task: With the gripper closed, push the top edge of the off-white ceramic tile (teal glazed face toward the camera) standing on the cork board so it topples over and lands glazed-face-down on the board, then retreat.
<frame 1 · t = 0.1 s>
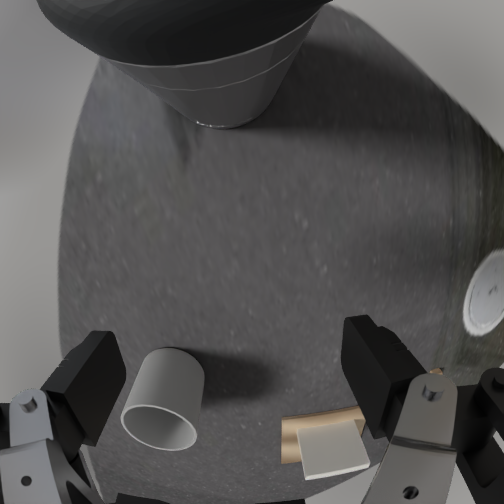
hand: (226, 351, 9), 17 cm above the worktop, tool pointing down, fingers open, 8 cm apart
tile: (325, 427, 34), resting on board
board: (322, 436, 35), on the worktop
cup: (168, 376, 31), on the worktop
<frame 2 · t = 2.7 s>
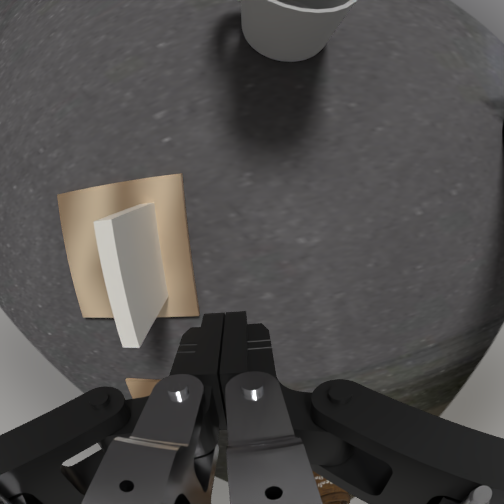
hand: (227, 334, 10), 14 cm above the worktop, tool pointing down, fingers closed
tan tapered flat part: (187, 394, 28), on the worktop
tile: (154, 251, 23), resting on board
board: (124, 252, 24), on the worktop
utensil holder: (322, 469, 33), on the worktop
cup: (270, 21, 19), on the worktop
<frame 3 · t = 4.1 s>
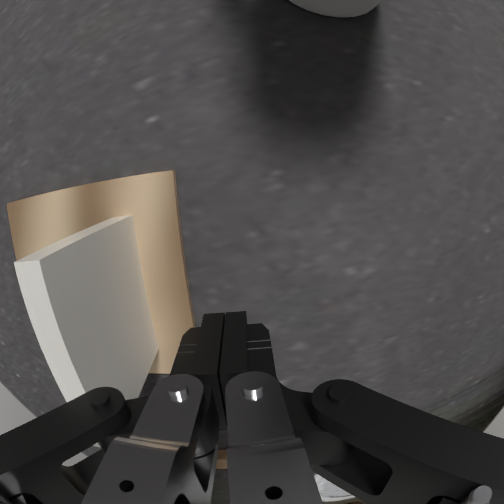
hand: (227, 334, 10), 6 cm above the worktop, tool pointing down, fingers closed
tile: (135, 287, 15), resting on board
board: (94, 286, 16), on the worktop
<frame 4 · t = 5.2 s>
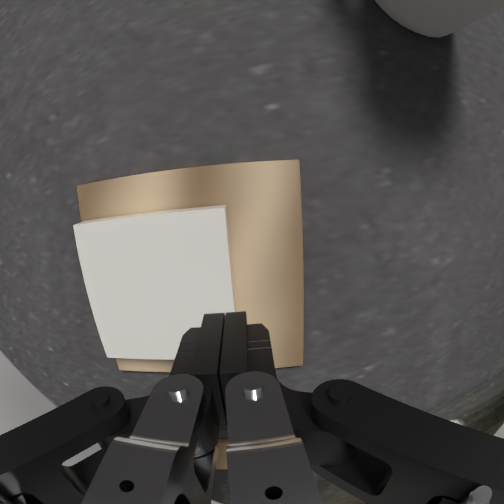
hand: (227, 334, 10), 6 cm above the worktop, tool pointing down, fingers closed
tile: (232, 286, 15), point 1 cm above the worktop, tilted 90°, touching board
board: (192, 280, 16), on the worktop
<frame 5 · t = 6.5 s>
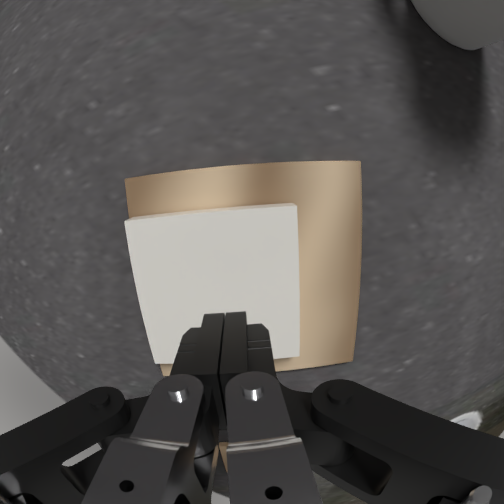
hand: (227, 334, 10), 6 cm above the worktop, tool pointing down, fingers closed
tile: (297, 284, 15), point 1 cm above the worktop, tilted 90°, touching board
board: (250, 279, 16), on the worktop
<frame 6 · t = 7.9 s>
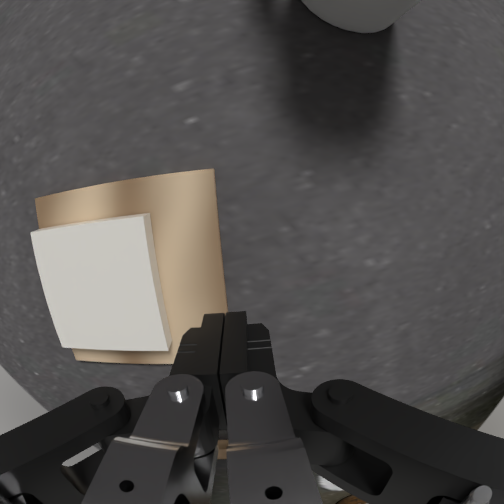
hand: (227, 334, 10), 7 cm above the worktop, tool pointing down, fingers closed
tile: (157, 285, 16), point 1 cm above the worktop, tilted 90°, touching board
board: (128, 279, 17), on the worktop
utensil holder: (352, 499, 27), on the worktop
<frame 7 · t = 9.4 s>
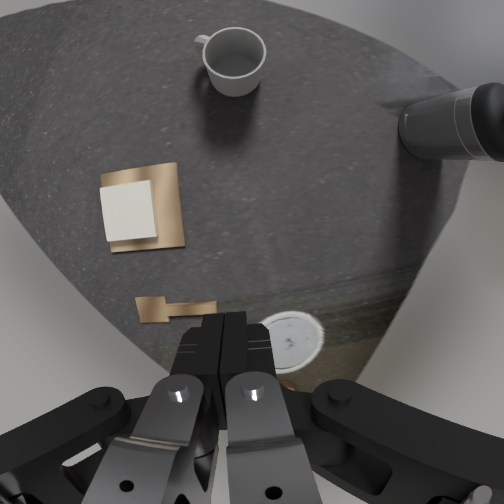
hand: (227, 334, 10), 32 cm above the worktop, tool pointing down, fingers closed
tan tapered flat part: (176, 307, 45), on the worktop
tile: (153, 207, 39), point 1 cm above the worktop, tilted 90°, touching board
board: (141, 208, 41), on the worktop
cup: (227, 70, 36), on the worktop
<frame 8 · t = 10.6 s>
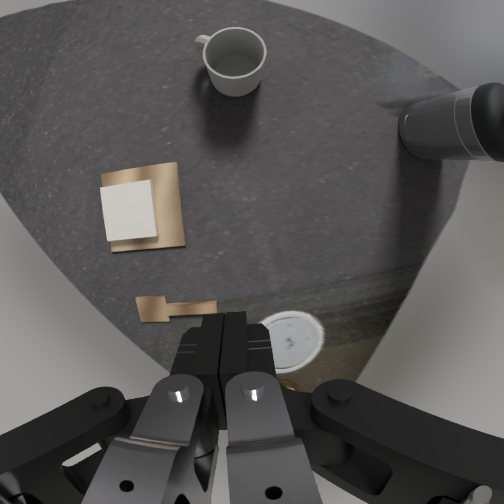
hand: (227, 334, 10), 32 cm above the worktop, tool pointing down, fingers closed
tan tapered flat part: (176, 307, 45), on the worktop
tile: (154, 207, 39), point 1 cm above the worktop, tilted 90°, touching board
board: (142, 208, 41), on the worktop
cup: (228, 70, 36), on the worktop
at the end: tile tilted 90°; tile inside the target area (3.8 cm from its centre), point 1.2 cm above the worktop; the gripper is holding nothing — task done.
